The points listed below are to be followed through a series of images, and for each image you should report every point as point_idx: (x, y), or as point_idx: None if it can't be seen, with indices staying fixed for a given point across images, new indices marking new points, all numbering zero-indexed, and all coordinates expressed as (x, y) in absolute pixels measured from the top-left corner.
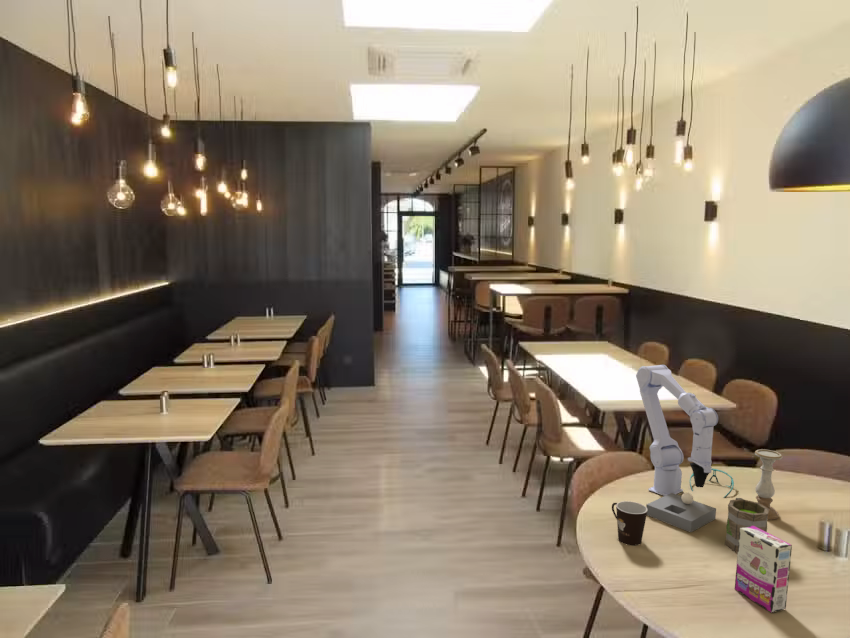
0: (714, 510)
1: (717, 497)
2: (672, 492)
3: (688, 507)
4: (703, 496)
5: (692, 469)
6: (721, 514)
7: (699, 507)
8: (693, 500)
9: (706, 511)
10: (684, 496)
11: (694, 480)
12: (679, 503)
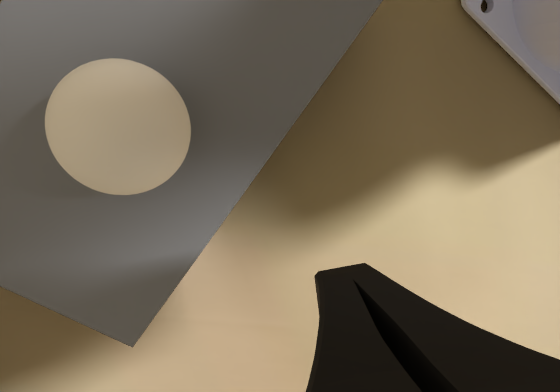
0: (108, 328)
1: (507, 332)
2: (529, 38)
3: (34, 123)
4: (514, 259)
5: (555, 384)
6: (246, 332)
7: (86, 225)
8: (245, 190)
9: (17, 273)
10: (56, 90)
11: (392, 284)
12: (106, 39)
